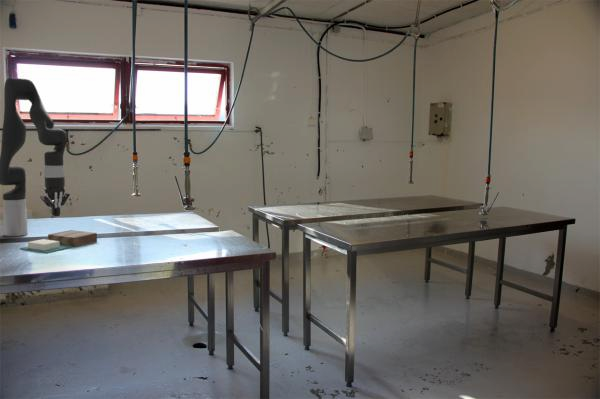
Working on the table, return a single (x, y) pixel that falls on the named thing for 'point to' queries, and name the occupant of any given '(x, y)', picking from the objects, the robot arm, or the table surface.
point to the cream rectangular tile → (43, 244)
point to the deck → (73, 237)
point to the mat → (49, 249)
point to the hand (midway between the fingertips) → (56, 216)
